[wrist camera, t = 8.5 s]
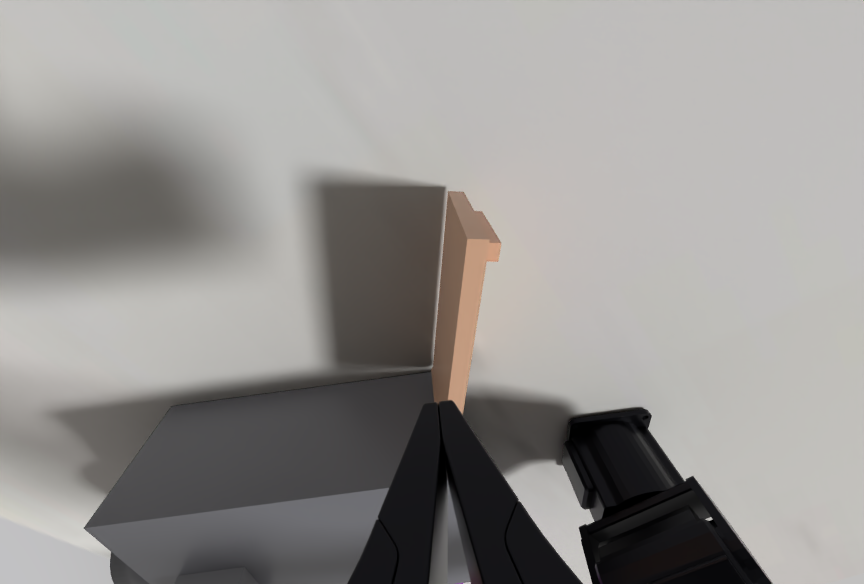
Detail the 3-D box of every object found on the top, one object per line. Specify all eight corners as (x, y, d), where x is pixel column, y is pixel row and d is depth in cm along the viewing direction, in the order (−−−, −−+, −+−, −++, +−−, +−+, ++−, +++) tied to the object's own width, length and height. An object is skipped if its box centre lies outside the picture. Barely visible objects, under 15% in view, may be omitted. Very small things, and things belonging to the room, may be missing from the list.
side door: (455, 375, 24) (470, 461, 19) (430, 375, 24) (438, 461, 19) (479, 192, 18) (511, 240, 13) (446, 191, 18) (464, 238, 12)
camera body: (452, 369, 25) (476, 506, 17) (464, 470, 31) (485, 608, 23) (129, 411, 25) (-4, 570, 17) (204, 505, 31) (132, 655, 23)
